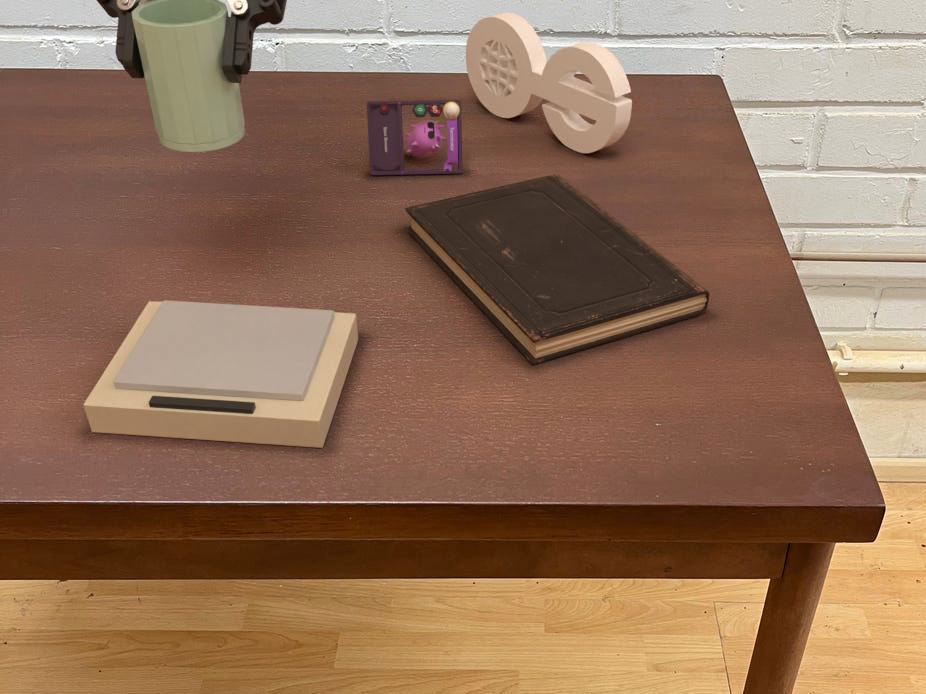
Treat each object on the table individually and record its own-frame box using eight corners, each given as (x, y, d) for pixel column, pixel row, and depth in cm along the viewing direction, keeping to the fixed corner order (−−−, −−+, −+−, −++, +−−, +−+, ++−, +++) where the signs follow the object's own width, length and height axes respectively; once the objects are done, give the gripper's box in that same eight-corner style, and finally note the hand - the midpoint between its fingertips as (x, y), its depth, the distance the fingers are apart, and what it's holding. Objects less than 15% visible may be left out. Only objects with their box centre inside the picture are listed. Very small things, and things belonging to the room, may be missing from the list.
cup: (146, 150, 71) (117, 23, 65) (173, 115, 75) (149, -6, 70) (232, 154, 70) (211, 27, 65) (254, 118, 75) (237, -3, 69)
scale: (91, 432, 68) (80, 397, 66) (155, 327, 78) (147, 293, 76) (322, 448, 67) (318, 413, 65) (358, 339, 77) (355, 306, 75)
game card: (366, 101, 95) (461, 100, 95) (368, 99, 99) (458, 98, 100) (370, 175, 97) (463, 173, 98) (371, 170, 102) (460, 168, 103)
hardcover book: (532, 365, 75) (533, 339, 73) (406, 231, 90) (405, 207, 88) (707, 313, 80) (711, 288, 79) (560, 195, 95) (562, 172, 94)
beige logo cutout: (465, 101, 112) (465, 6, 105) (480, 96, 113) (481, 2, 107) (610, 167, 100) (621, 63, 93) (625, 160, 101) (637, 58, 94)
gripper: (76, -205, 66) (53, 45, 65) (292, -199, 65) (272, 54, 64) (123, -129, 73) (103, 95, 72) (317, -123, 72) (299, 104, 72)
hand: (182, 75), depth 68 cm, fingers closed on cup, 6 cm apart
